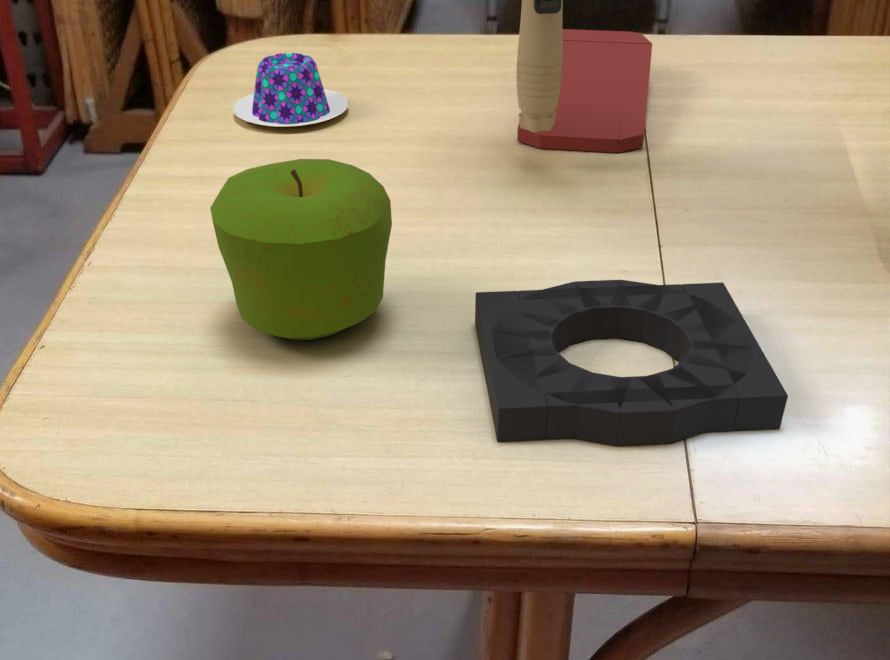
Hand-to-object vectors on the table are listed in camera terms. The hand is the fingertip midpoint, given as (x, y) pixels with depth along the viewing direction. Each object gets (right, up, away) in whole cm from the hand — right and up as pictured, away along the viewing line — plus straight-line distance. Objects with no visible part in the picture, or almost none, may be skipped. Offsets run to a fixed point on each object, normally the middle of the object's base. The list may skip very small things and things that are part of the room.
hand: (542, 2), depth 91 cm
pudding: (-24, -1, +21) cm, 32 cm away
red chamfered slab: (+7, 0, +22) cm, 23 cm away
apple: (-18, -30, -12) cm, 37 cm away
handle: (0, -8, +7) cm, 11 cm away
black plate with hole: (+3, -34, -18) cm, 39 cm away
